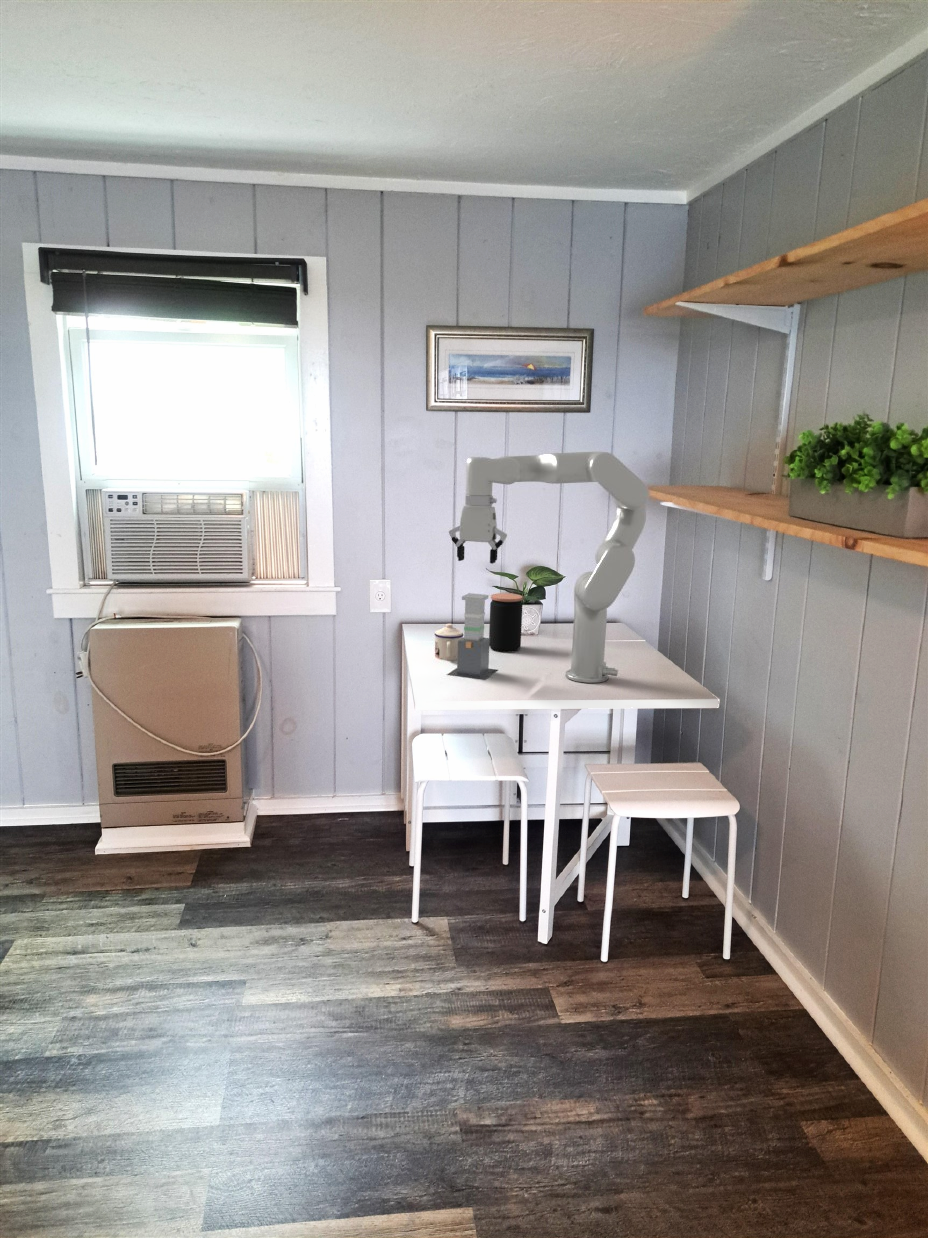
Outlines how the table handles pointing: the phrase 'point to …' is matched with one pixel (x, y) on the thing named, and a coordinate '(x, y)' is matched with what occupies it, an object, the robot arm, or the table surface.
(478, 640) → the column
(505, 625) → the coffee jar
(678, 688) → the table surface
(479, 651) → the stand
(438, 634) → the teacup with lid
